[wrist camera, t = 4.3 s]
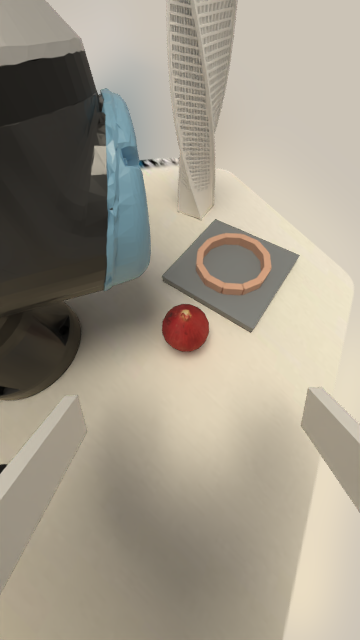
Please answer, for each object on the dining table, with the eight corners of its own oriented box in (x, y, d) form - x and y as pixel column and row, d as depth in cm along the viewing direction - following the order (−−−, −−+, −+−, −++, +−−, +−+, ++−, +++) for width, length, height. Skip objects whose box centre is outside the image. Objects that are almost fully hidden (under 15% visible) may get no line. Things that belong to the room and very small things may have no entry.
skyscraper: (168, 212, 40) (132, -130, 15) (187, 192, 43) (182, -128, 18) (203, 225, 38) (228, -148, 13) (220, 203, 41) (269, -143, 15)
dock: (250, 332, 28) (256, 324, 26) (162, 280, 33) (160, 269, 30) (296, 260, 33) (304, 248, 31) (214, 224, 38) (216, 211, 36)
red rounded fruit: (158, 348, 28) (147, 324, 20) (175, 314, 30) (171, 282, 23) (197, 364, 26) (200, 345, 19) (212, 328, 29) (219, 299, 21)
